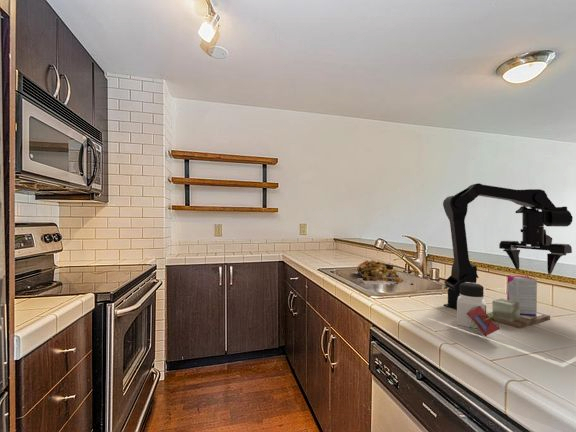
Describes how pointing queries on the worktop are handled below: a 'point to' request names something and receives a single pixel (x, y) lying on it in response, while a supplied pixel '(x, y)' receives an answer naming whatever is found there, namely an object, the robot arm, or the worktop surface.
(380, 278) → the brown irregular low mound
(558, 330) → the worktop surface
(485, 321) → the geometric puzzle
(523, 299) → the supplement box
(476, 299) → the medicine bottle
